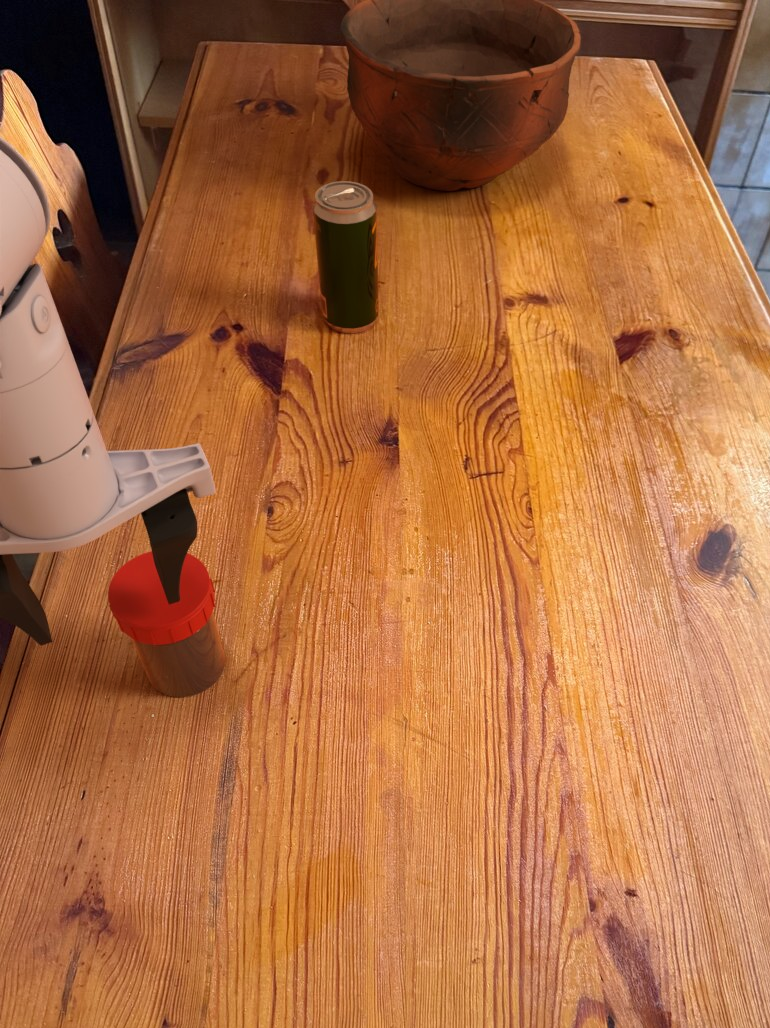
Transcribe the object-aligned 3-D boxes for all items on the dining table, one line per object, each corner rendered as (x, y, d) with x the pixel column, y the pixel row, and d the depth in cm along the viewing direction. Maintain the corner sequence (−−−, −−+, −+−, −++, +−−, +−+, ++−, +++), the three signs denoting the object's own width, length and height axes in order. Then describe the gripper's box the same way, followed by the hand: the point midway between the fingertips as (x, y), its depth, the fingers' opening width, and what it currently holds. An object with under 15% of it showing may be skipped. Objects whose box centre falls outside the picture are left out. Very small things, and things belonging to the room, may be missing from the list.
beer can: (335, 341, 82) (326, 217, 73) (313, 309, 85) (302, 186, 76) (388, 327, 84) (386, 204, 74) (365, 296, 87) (360, 175, 77)
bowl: (536, 243, 94) (556, 91, 82) (316, 202, 97) (304, 50, 85) (578, 139, 109) (600, -2, 97) (385, 106, 112) (384, -34, 100)
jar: (142, 699, 58) (112, 631, 52) (150, 635, 61) (123, 564, 55) (223, 695, 58) (202, 627, 52) (227, 631, 62) (208, 560, 56)
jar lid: (166, 554, 57) (160, 534, 56) (235, 597, 55) (231, 578, 54) (94, 613, 54) (85, 594, 53) (165, 662, 52) (158, 643, 51)
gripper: (166, 336, 44) (213, 524, 54) (-159, 411, 39) (-38, 599, 50) (206, 424, 40) (248, 608, 51) (-149, 518, 36) (-21, 697, 46)
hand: (108, 610), depth 50 cm, fingers open, 6 cm apart
